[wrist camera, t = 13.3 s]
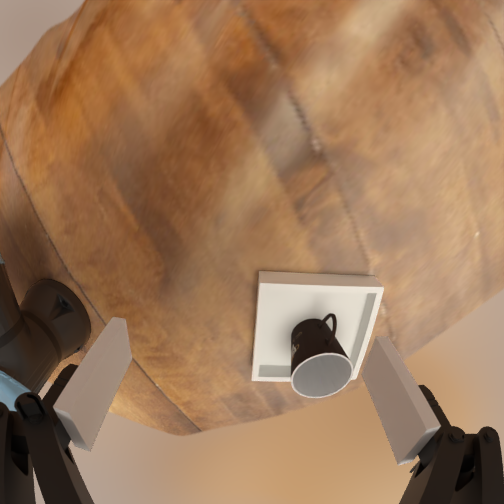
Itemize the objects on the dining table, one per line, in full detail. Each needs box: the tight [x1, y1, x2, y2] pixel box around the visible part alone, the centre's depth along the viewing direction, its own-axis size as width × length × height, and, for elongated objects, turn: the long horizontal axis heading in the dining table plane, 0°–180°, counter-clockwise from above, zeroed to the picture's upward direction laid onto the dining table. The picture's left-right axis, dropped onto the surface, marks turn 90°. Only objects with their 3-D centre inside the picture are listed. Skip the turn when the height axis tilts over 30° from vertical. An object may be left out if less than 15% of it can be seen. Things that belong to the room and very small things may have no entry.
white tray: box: [252, 271, 384, 382], centre depth 44 cm, size 18×18×4 cm
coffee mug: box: [291, 313, 354, 398], centre depth 40 cm, size 12×9×10 cm
